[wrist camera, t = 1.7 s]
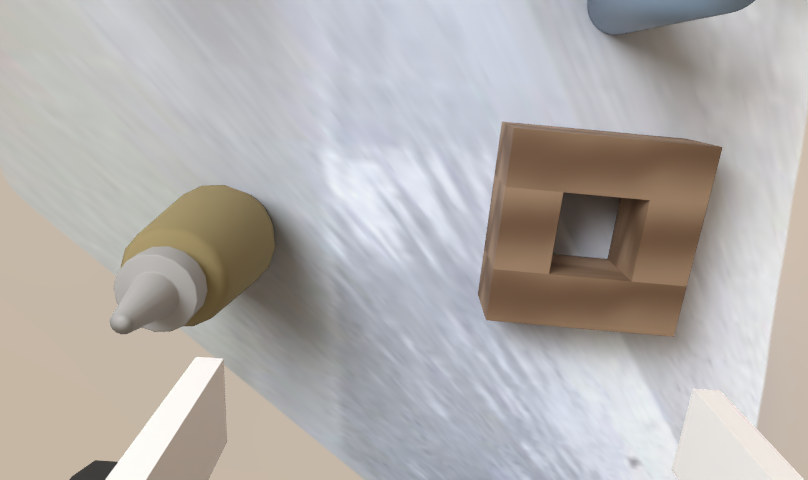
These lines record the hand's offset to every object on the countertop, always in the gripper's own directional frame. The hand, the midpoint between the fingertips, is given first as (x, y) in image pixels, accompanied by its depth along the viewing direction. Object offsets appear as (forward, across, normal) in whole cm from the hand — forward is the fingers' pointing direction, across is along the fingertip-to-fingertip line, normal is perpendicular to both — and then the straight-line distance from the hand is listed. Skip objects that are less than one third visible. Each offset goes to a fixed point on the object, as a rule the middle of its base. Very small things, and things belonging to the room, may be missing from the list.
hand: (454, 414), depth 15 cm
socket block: (+29, -12, +2) cm, 31 cm away
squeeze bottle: (+29, +15, +4) cm, 33 cm away
